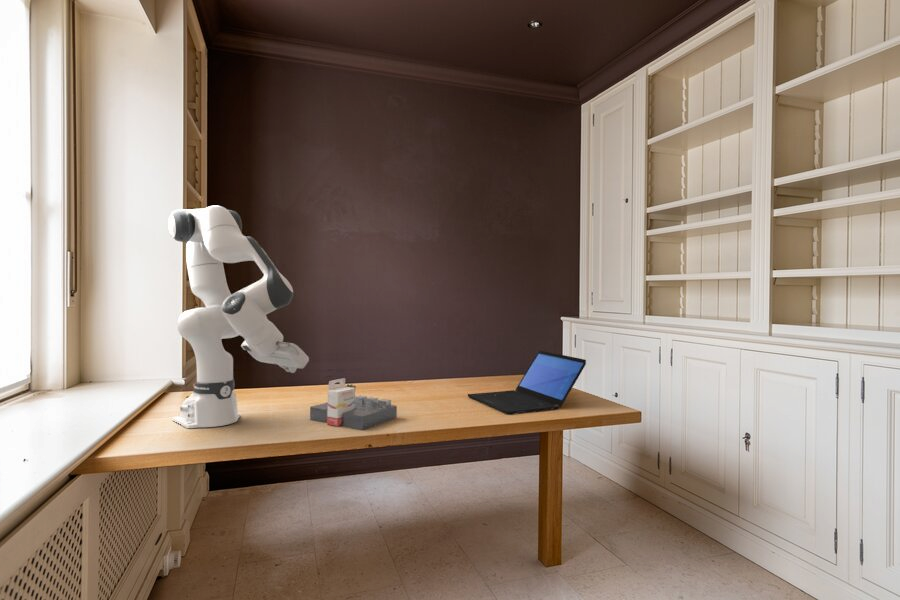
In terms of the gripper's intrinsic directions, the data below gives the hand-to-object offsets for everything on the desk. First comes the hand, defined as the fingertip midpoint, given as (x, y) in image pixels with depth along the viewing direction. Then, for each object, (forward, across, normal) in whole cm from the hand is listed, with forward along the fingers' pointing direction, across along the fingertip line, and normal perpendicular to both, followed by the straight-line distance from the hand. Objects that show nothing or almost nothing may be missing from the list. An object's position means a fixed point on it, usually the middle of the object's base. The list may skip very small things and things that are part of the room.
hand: (292, 370), depth 146 cm
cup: (+43, +14, -14) cm, 48 cm away
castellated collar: (+34, -1, -6) cm, 35 cm away
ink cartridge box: (+29, -1, 0) cm, 29 cm away
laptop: (+75, -42, -48) cm, 98 cm away
